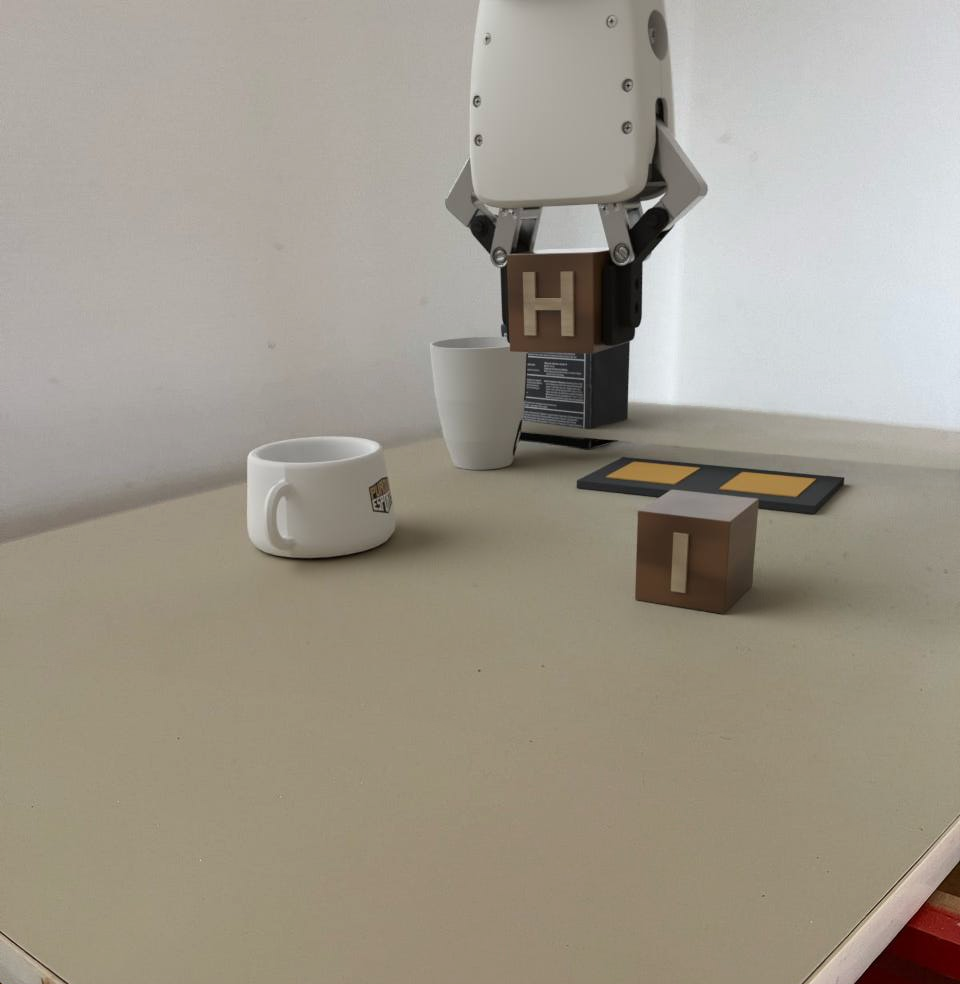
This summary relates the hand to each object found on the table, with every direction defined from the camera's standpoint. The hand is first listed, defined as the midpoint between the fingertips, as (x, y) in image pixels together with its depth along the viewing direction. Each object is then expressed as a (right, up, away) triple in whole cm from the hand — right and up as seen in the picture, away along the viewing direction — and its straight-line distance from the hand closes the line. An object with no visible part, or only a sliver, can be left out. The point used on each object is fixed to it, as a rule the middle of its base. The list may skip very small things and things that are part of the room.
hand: (570, 338), depth 57 cm
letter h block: (0, 0, 0) cm, 0 cm away
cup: (-5, -2, +31) cm, 31 cm away
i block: (+7, -14, 0) cm, 16 cm away
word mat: (+12, -5, +21) cm, 25 cm away
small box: (+3, +2, +40) cm, 40 cm away
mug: (-16, -11, +10) cm, 22 cm away
